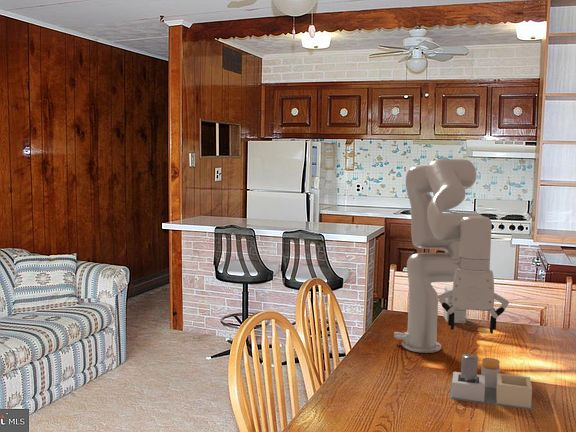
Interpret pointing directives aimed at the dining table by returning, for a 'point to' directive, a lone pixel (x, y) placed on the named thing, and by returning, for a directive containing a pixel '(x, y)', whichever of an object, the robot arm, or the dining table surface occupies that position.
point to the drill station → (494, 389)
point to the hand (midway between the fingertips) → (471, 330)
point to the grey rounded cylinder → (469, 368)
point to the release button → (490, 363)
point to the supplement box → (459, 313)
